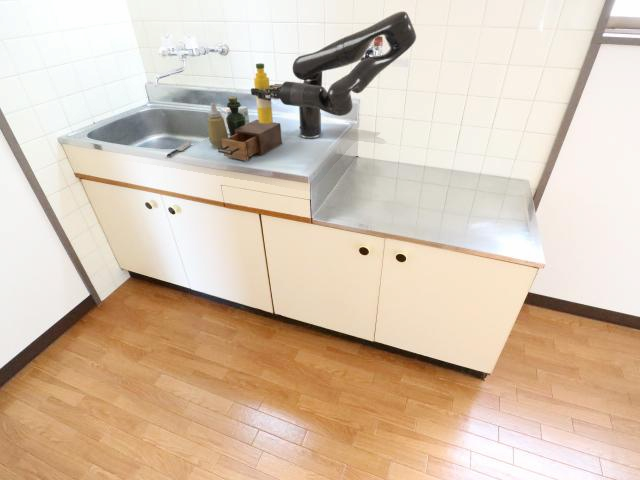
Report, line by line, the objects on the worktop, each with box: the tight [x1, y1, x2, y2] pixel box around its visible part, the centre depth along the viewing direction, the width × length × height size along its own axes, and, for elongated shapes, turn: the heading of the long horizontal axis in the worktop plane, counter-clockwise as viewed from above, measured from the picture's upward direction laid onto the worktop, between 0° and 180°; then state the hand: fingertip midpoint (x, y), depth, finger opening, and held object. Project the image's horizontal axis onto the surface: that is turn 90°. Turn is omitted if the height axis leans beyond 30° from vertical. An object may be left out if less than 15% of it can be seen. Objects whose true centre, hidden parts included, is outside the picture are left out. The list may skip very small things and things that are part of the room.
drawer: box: [217, 133, 259, 162], centre depth 147 cm, size 19×11×7 cm, turn 151°
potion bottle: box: [226, 96, 245, 137], centre depth 161 cm, size 8×8×18 cm
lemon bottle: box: [253, 62, 274, 123], centre depth 133 cm, size 5×5×20 cm
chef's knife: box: [166, 140, 192, 158], centre depth 157 cm, size 19×1×3 cm
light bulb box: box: [220, 104, 250, 135], centre depth 172 cm, size 11×7×11 cm, turn 130°
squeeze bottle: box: [206, 102, 229, 149], centre depth 154 cm, size 8×8×18 cm
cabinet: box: [235, 119, 283, 156], centre depth 156 cm, size 15×12×9 cm
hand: (256, 89), depth 134 cm, fingers closed on lemon bottle, 5 cm apart
